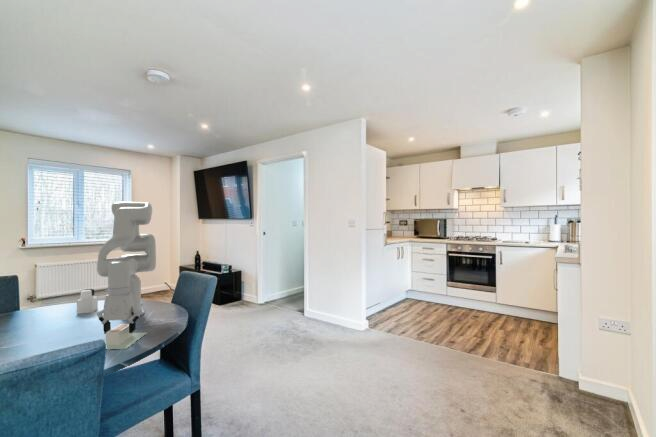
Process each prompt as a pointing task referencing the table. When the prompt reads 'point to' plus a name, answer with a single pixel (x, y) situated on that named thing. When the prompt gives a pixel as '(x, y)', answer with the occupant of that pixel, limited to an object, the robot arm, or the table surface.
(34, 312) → the table surface
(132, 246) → the robot arm
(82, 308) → the medicine bottle
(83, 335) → the table surface
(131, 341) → the mat
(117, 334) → the cream rectangular box
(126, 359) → the table surface
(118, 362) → the table surface
